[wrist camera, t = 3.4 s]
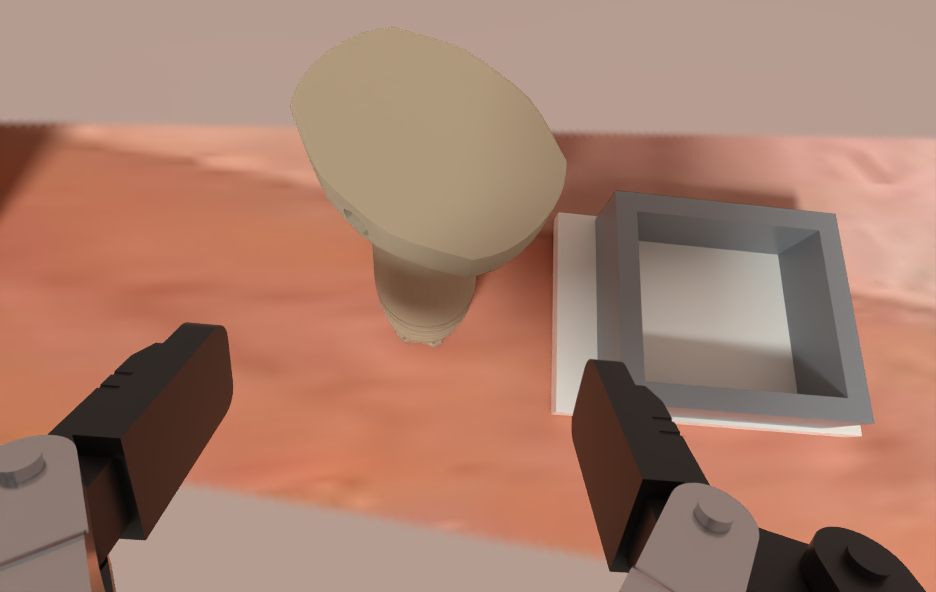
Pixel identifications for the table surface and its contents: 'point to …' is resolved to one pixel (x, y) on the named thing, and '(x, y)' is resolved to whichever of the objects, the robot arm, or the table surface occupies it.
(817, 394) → the holder
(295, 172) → the table surface
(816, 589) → the robot arm
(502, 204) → the handle
